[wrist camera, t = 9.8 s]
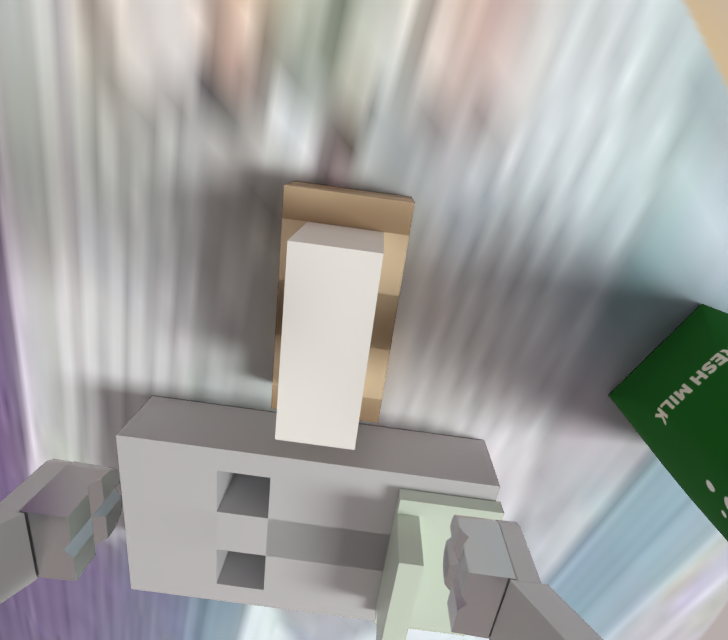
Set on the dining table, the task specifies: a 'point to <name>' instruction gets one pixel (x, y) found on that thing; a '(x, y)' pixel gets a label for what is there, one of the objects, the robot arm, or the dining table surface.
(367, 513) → the socket
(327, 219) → the holder
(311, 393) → the plug
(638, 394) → the milk carton
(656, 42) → the dining table surface
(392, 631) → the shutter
